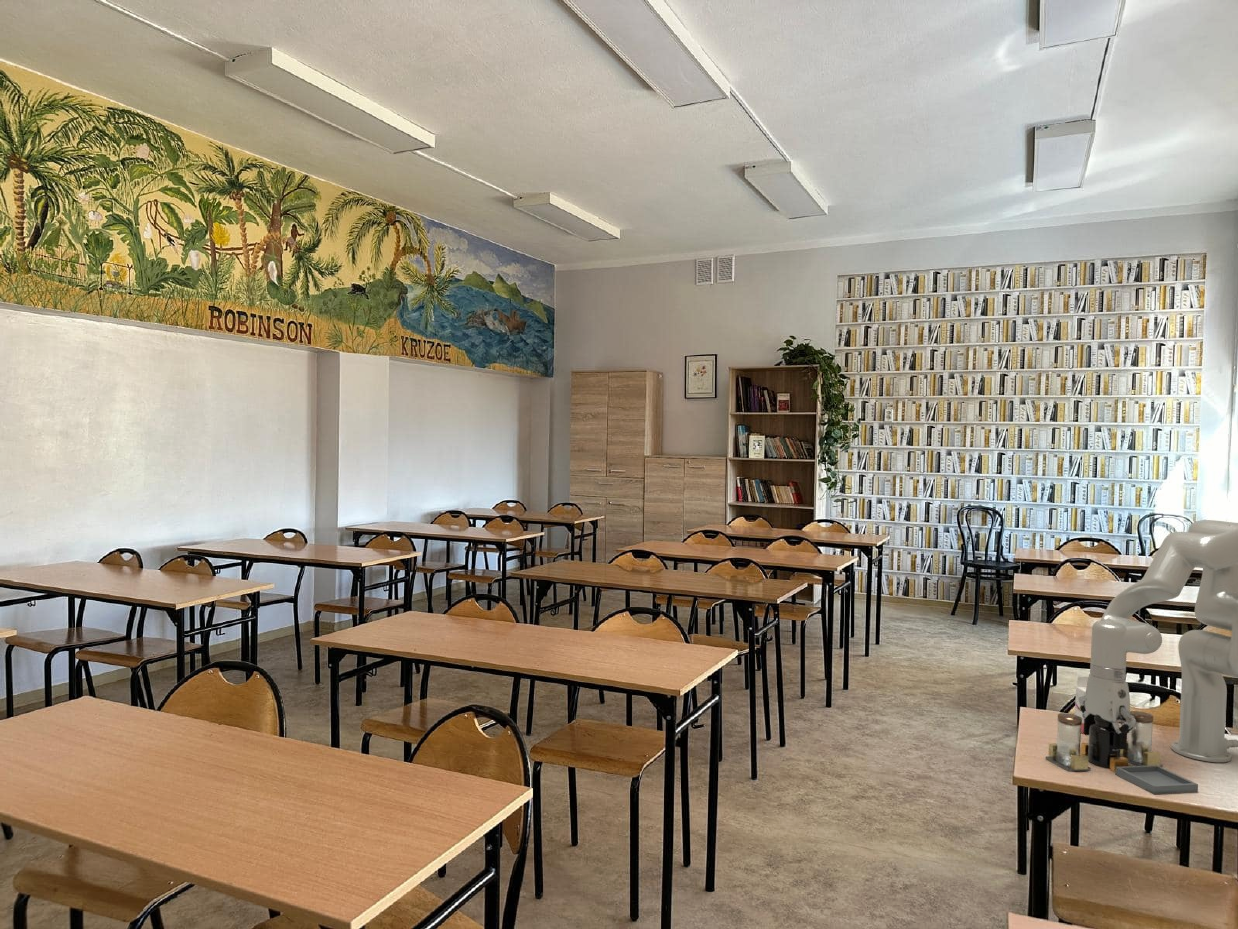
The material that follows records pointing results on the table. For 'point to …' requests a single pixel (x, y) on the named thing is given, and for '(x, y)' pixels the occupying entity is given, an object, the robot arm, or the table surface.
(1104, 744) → the supplement bottle
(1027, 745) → the table surface
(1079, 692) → the ink cartridge box
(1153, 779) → the tray
